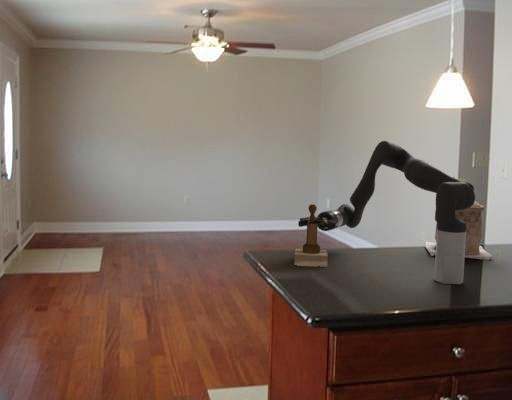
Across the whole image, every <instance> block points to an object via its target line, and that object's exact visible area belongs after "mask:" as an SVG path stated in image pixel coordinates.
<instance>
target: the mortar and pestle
mask: <svg viewBox="0 0 512 400" xmlns="http://www.w3.org/2000/svg"><path fill="white" fill-rule="evenodd" d="M308 212H309V213H310V215H309V216H308V217H309V218H310V222H307V226H306V239H305V241H306V243H304V244H303V245H302V249H303V252H304V253H309V254H317V253H320V249H321V246H320V245H319V244H318V227H317V226H318V223H316V222H314V221H315V217H316V216H315V214H316V212H317V206H316V205H315V204H309V206H308Z"/></svg>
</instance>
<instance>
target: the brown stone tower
mask: <svg viewBox="0 0 512 400" xmlns="http://www.w3.org/2000/svg"><path fill="white" fill-rule="evenodd" d="M452 177H453V178H455V179H457V180H460V181H463V182H465V183H467V184H468V185H470V186H471V188H472V189H473V191H474V192H475V188H474V185H473V184H472V183H470V182H469V181H468V180H467V179H465V178H457V177H455V176H452ZM484 210H485V206H484V205H481V203H479V202H477V201H476V200H475V202H474V204H473V205H472V206H471V207H470V208H467V209H464V210H455V215H456V218H457V219H458V220H460V221H463V222H465V223H466V225H467V228H466V242H465V258H464V259H467V258H468V259H475V260H476V259H478V260H483V261H490V259H491V258H493V256H492V254H491V253H489V252H488V251H486V250H485V249H484V248H483V246H481V240H482V239H483V233H482V226H483V225H482V223H483V222H482V213H483V211H484ZM434 221H435V222H436V210H435V212H434ZM436 239H437V223H436V226H435V234H434V240H435V241H436ZM424 246H425V248H426V250H427V251H428V253H429V254H430V256H431V257H432V256H433V257H434V256H436V242H431V241H425V242H424Z"/></svg>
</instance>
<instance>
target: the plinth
mask: <svg viewBox="0 0 512 400" xmlns="http://www.w3.org/2000/svg"><path fill="white" fill-rule="evenodd" d="M327 250H328V249H321V248H320V253H317V254H309V253H304V252H303V248H298V247H297V248H295V249H294V263H293V264H294V265H297V267H299V266H300V267H318V266H320V267H324V268H326V267H328V258H329V257H328V251H327ZM320 267H319V268H320Z"/></svg>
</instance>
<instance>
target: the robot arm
mask: <svg viewBox="0 0 512 400" xmlns="http://www.w3.org/2000/svg"><path fill="white" fill-rule="evenodd" d="M367 163H368V164H367V165H366V168H365V170H364V172H363V175H362V177H361V179H360V181H359V183H358V185H357V186H356V188H355V190H353V193H352V194H351V196H350V197H349V201H350V203H351V205H352V206H351V205H349V204H345V203H343V204H341V205H340V206H339V207H338V208H337V209H334V210H333V209H332V210H327V211H322V212H320V213H319V214H318V215H317V216H315V221H314V222H316V223H318V226H317V230H321V231H323V232H328V231H333V230H335V229H338V228H342V227H343V226H345V225H346V226H347V227H348V228H349V229H354V228H357V226H358V225H359V224H360V223H361V220H362V217H363V214H364V211H365V208H366V206H367V204H368V203H369V201H370V199H371V198H372V197H373V195H374V192H375V187H376V175H377V172H378V170H379V168H380V167H381V166H382V165H383V166H386V167H389V168H392V169H395V170H398V171H400V172H402V173H403V175H404V177H405V179H406V180H407V181H409V182H410V183H411V184H412V185H413V186H415V187H416V188H419V189H421V190H424V191H427V192H431V193H435V211H436V221H435V222H436V224H437V239H436V240H435V243H436V255H434V256H435V259H434V260H435V261H434V278H433V279H434V281H435V282H438V283H441V284H444V285H462V284H463V283H464V276H465V275H464V274H465V273H464V272H465V259H466V258H465V242H466V228H467V225H466V223H465V222H463V221H460V220H458V219H457V218H456V215H455V210H464V209H467V208H470V207H471V206H472V205H473V204H474V202H475V201H476V194H475V190H474V191H473V189H472V188H471V186H470V185H468V184H467V183H465V182H463V181H460V180H457V179H458V178H456V177H455V178H456V179H455V178H453V177H454V176H450V175H449V174H447V173H445V172H443V171H442V170H440V169H438V168H437V167H435V166H433V165H432V164H430V163H429V162H427V161H425V160H423V159H421V158H419V157H415V156H414V155H412V154H411V153H410V152H409V151H408V150H406V149H405V148H404V147H402V146H401V145H399V144H396V143H394V142H390V141H388V140H381V141H380V142H378V143H377V144H376V147H375V148H374V150H373V152H372V154H371V156H370V158H369V160H368V162H367ZM352 207H353V208H352ZM307 222H310V218H309V216H307V217H301V218H299V221H298V223H297V224H298V225H297V226H298V227H300V228H301V227H307Z"/></svg>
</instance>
